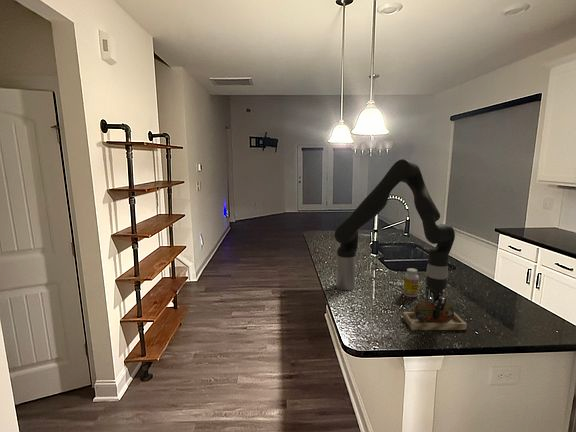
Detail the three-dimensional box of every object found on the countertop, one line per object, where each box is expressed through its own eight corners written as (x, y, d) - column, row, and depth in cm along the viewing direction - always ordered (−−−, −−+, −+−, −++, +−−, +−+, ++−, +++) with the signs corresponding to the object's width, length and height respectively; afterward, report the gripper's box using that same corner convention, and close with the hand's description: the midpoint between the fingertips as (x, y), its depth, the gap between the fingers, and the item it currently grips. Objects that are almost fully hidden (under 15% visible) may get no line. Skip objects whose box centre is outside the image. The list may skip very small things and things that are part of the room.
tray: (411, 329, 125) (412, 323, 125) (402, 317, 135) (403, 312, 135) (466, 329, 125) (466, 323, 125) (453, 317, 135) (453, 311, 135)
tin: (415, 323, 129) (416, 303, 128) (412, 319, 132) (413, 300, 131) (453, 323, 129) (455, 303, 127) (449, 319, 132) (451, 300, 130)
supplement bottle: (411, 298, 153) (412, 272, 151) (400, 293, 159) (401, 268, 157) (420, 296, 156) (422, 270, 154) (410, 291, 162) (411, 266, 160)
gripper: (455, 281, 120) (451, 324, 123) (438, 268, 134) (435, 307, 137) (435, 281, 120) (431, 324, 123) (420, 268, 134) (417, 307, 137)
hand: (433, 315), depth 130 cm, fingers open, 3 cm apart
